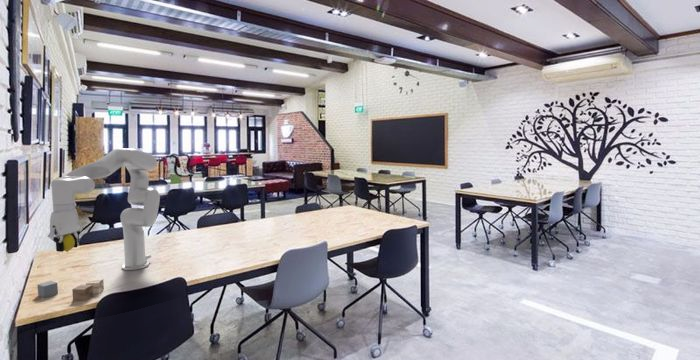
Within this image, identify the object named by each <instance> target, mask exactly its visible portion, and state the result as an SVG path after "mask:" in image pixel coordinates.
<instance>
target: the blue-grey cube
mask: <svg viewBox="0 0 700 360" xmlns="http://www.w3.org/2000/svg"><path fill="white" fill-rule="evenodd" d="M58 294H59V289H58V282H56V281H54V280H49V281H44V282H42V283H39V284H37V295H38V297H42V298H44V299H45V298H48V297H52V296H55V295H58Z"/></svg>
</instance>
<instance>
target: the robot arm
mask: <svg viewBox="0 0 700 360" xmlns="http://www.w3.org/2000/svg"><path fill="white" fill-rule="evenodd" d="M157 164H158V163H157V157H156V156H154V155H152V154H151V153H148V152H144V151H142V150H139V149H135V148H123V147H122V148H115V149H112V150H111V151H110V152H108V153H107V154H105V155H104V156H101V158H99V159H98V160H96V161H93V162H91V163H87V164H86V165H82V166H79V167H77V168H75V169H73V170H71V171H69V172H67V173H66V174H64V175H63V176H62V177H61V178H55V179H52V181H51V185H50V187H51V197H52V199H51V201H52V211H51V214H50V218H49V233H48V234H47V238H49V239H51V240H52V241H53V242H54V243H55V249H56V252H60V253H61V252H62V253H63V252H64V243H63V242H62V239H63V235H66V234H69V235H72V236H73V238H74V240H75V245H74V247H73V248H78V238H79V235H80V234H81V232H82V231H83V228H84V227H82V226H81V225H80V218H79V214H78V211H77V209H76V207H77V203H76V201H75V200H76V198H75V196H76V195H85V194H89V193H91V192H93V191H94V189H95V187H96V183H95V181H94V180H97V179H103V178H108V177H109V176H111V175H113V173H115V172H116V171H118V170H120V168H122V167H125V168H126V169H127V171H128V173H129V176H130V184H129V188H128V194H127V203H129V204H130V205H132V206H140V207H128V208H125V209H123V210H122V212H121V213H120V216H119V217H120V222H121V226H122V233H123V252H124V263H123V264H122V265H121V269H122V270H125V271H135V270H140V269H145V268H147V267H148V266H149V265H150V263H149V261H147V260H149V259H151V258H152V255H151V254H147V255H146V246H145V245H146V244H145V243H146V242H145V232H144V229H143V228H149V227H153V226H154V225H155V223H156V222H157V221H156V220H157V218H158V213H159V207H160V203H161V202H160V201H161V196H160V193H159V191H158V190H157V189H156V188H153V187H151V188H150V187H149V183H150V179H149V175H148V173H147V172H146V171H152V170H154V169H155V168H156V167H157Z"/></svg>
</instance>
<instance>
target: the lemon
mask: <svg viewBox="0 0 700 360" xmlns="http://www.w3.org/2000/svg"><path fill="white" fill-rule="evenodd" d="M62 242H63V243H64V251H65V252H68V253H69V251H70V250H72V249H74V248H75V247H74V245H75V240H74V238H73V236H72V235H70V234H66V235H63V239H62ZM64 251H63V252H64Z"/></svg>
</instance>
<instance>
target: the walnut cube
mask: <svg viewBox="0 0 700 360" xmlns="http://www.w3.org/2000/svg"><path fill="white" fill-rule="evenodd" d="M71 292H72V301H75V302H76V301H80V302H82V301H83V302H85V301H87V300H89V299H91V298H92V297H94V294H93V285H86V284H80V285H78V286H76V287H74V288H72V289H71Z"/></svg>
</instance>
